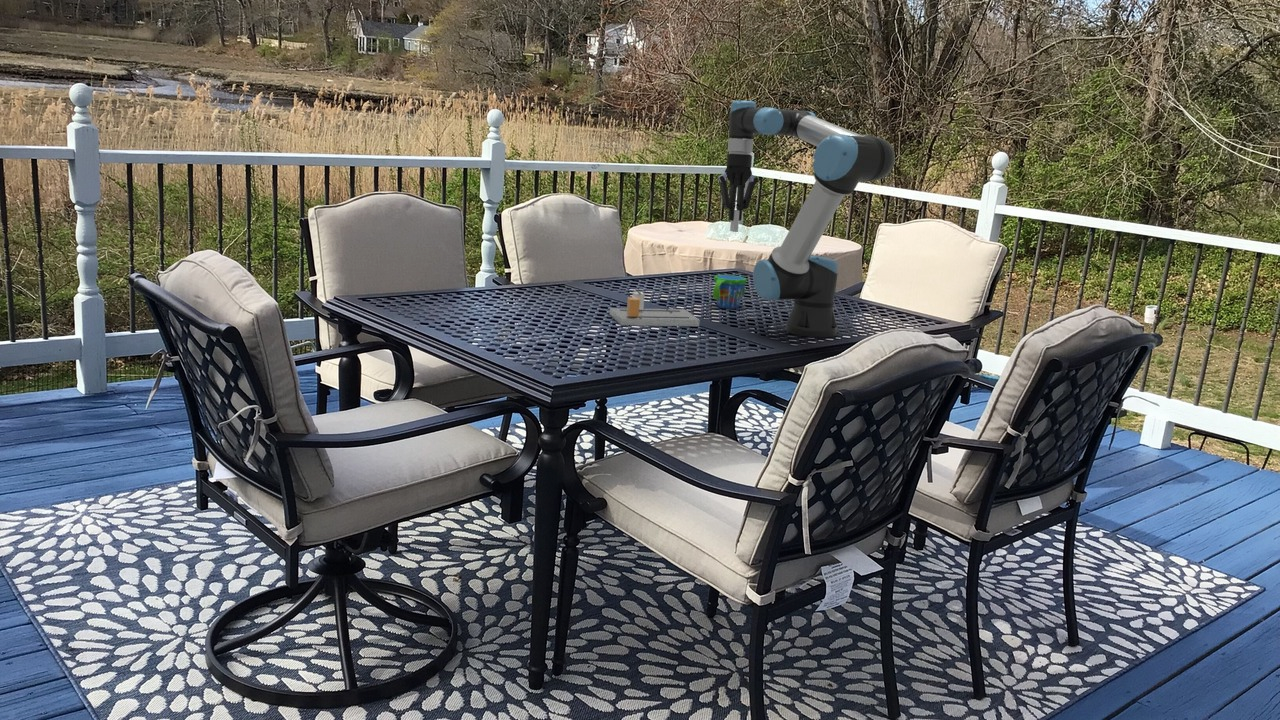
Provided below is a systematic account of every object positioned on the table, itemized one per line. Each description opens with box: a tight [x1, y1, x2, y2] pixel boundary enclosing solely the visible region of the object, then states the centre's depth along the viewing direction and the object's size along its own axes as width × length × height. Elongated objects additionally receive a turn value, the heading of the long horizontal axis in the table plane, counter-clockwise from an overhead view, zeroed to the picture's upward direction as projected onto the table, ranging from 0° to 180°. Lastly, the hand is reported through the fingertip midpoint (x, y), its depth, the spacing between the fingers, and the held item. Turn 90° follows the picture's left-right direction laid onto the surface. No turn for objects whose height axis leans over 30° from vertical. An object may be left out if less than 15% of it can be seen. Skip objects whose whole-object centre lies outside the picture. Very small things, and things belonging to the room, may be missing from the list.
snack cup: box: [712, 274, 748, 310], centre depth 326 cm, size 16×10×10 cm
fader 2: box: [626, 295, 640, 316], centre depth 290 cm, size 4×3×5 cm
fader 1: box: [632, 290, 645, 310], centre depth 300 cm, size 4×3×5 cm
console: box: [609, 307, 701, 327], centre depth 297 cm, size 17×24×2 cm
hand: (733, 231), depth 302 cm, fingers closed
